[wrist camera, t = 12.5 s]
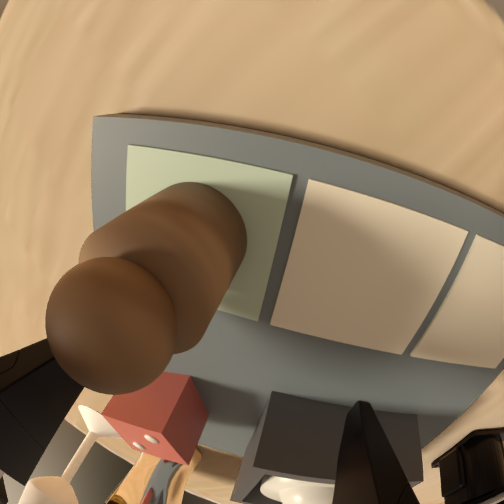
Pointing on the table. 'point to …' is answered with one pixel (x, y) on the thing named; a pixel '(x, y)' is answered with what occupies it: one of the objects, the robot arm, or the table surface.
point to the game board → (322, 292)
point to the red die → (160, 417)
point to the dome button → (296, 491)
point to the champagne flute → (58, 488)
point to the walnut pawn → (145, 288)
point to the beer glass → (154, 481)
